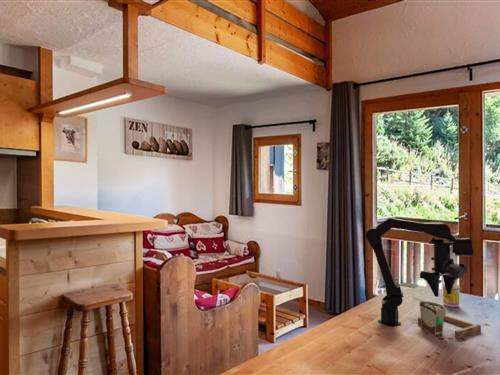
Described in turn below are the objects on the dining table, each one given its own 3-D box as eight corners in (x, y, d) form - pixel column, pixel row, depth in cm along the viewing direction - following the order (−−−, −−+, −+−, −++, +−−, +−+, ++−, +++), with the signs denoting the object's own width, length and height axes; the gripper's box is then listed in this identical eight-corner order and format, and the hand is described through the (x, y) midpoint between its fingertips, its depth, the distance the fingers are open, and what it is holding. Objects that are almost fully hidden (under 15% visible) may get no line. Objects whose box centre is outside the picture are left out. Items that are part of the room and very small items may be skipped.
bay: (457, 338, 135) (457, 331, 135) (417, 323, 150) (417, 317, 150) (480, 331, 142) (480, 325, 142) (440, 317, 157) (440, 312, 157)
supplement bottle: (439, 304, 175) (439, 276, 175) (449, 302, 178) (449, 275, 178) (452, 308, 169) (452, 280, 169) (462, 306, 172) (462, 278, 172)
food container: (453, 337, 136) (453, 310, 136) (437, 338, 136) (437, 311, 136) (434, 325, 148) (433, 300, 148) (419, 325, 148) (419, 300, 148)
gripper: (444, 261, 132) (445, 304, 132) (477, 256, 141) (478, 297, 141) (418, 256, 142) (419, 296, 142) (450, 251, 151) (451, 290, 151)
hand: (442, 295), depth 144 cm, fingers open, 7 cm apart
